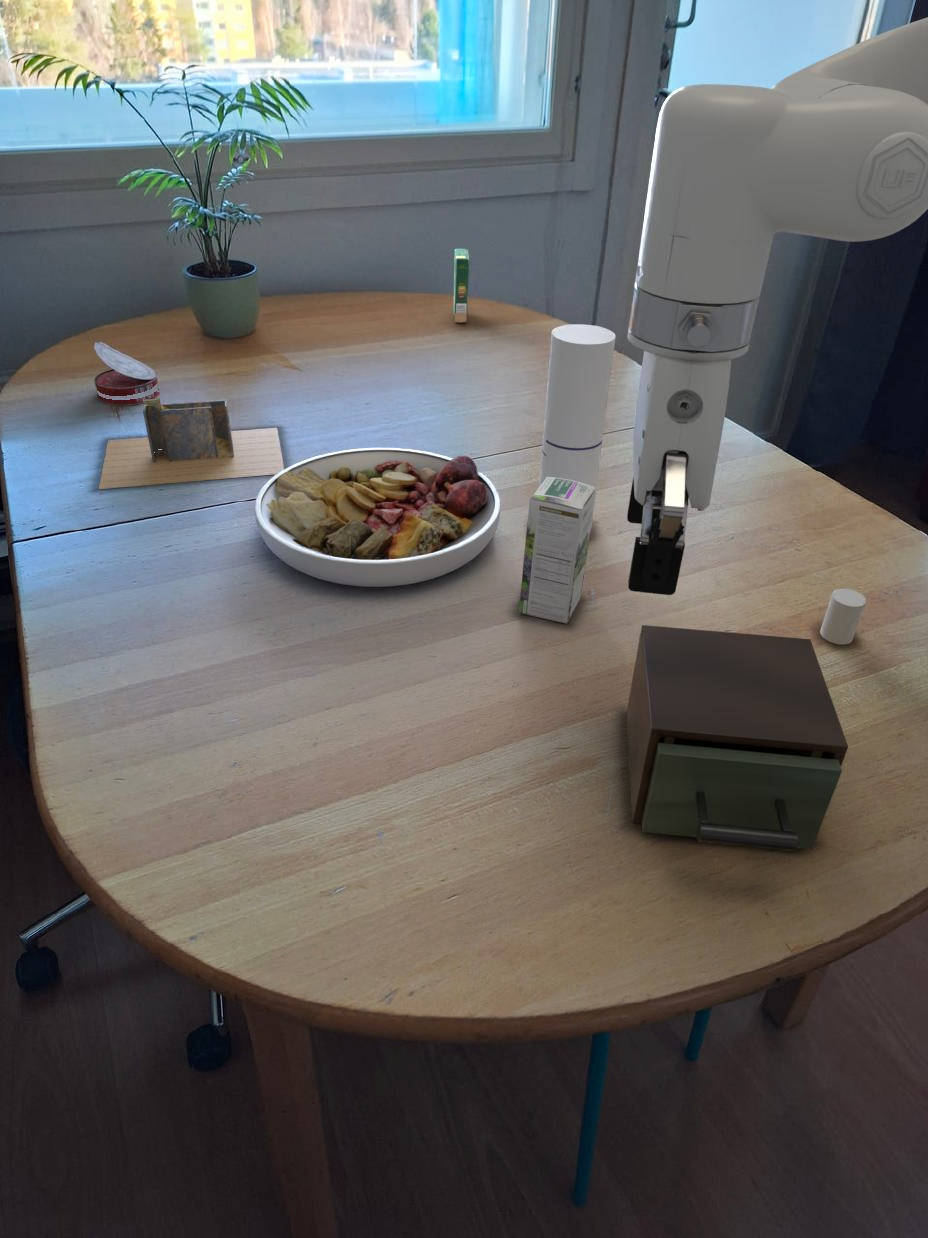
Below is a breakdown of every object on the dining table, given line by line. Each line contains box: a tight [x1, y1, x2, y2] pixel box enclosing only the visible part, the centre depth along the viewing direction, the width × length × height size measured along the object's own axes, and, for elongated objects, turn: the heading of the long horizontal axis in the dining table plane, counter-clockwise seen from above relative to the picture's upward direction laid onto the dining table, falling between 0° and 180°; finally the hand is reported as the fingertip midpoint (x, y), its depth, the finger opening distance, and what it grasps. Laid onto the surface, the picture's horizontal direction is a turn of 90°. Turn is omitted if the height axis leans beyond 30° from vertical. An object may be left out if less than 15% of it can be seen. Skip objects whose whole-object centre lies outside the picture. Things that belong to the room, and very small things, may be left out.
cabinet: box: [625, 624, 849, 824], centre depth 74 cm, size 14×15×11 cm
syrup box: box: [518, 477, 598, 625], centre depth 94 cm, size 6×6×14 cm
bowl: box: [254, 447, 502, 588], centre depth 108 cm, size 30×30×8 cm
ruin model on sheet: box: [98, 397, 285, 490], centre depth 124 cm, size 25×16×10 cm, turn 104°
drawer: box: [641, 737, 843, 852], centre depth 71 cm, size 17×13×9 cm
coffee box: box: [453, 248, 470, 314], centre depth 181 cm, size 8×3×13 cm, turn 2°
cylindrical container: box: [538, 323, 617, 534], centre depth 105 cm, size 7×7×25 cm
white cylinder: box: [819, 588, 867, 646], centre depth 93 cm, size 3×3×5 cm
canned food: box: [93, 341, 161, 407], centre depth 144 cm, size 11×10×10 cm
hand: (648, 554), depth 64 cm, fingers open, 9 cm apart
